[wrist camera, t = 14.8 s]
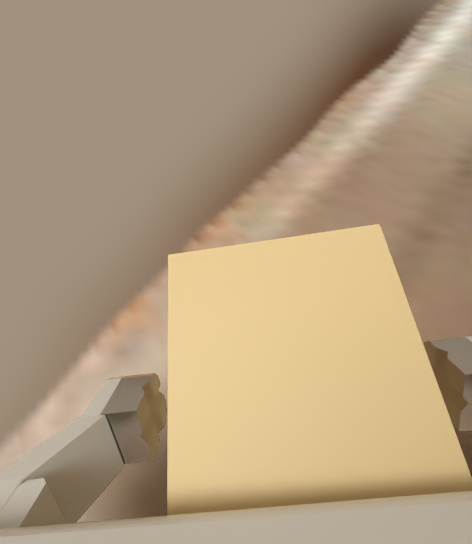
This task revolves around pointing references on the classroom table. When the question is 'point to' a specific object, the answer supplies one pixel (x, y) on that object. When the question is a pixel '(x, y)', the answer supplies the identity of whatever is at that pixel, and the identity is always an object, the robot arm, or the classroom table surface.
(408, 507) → the robot arm
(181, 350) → the block
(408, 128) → the classroom table surface
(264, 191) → the classroom table surface
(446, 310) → the classroom table surface
